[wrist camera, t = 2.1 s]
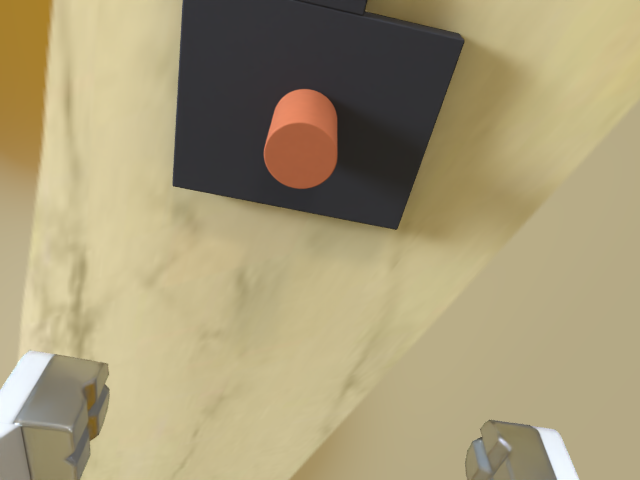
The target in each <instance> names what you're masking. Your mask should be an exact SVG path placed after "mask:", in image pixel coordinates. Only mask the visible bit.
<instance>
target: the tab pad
mask: <svg viewBox="0 0 640 480" xmlns="http://www.w3.org/2000/svg"><path fill="white" fill-rule="evenodd" d="M366 3H367V0H183V5H182V23H181V41H180V59H179V77H178V95H177V113H176V131H175V150H174V168H173V186H175V187H180V188H185V189H190V190H195V191H200V192H206V193H211V194H216V195H221V196H226V197H231V198H236V199H242V200H247V201H252V202H257V203H262V204H267V205H272V206H277V207H283V208H288V209H293V210H298V211H303V212H308V213H313V214H318V215H324V216H329V217H334V218H339V219H344V220H349V221H354V222H359V223H365V224H370V225H375V226H380V227H385V228H390V229H395V230H397V229H398V226H399V223H400V220H401V217H402V215H403V212H404V209H405V206H406V204H407V201H408V198H409V195H410V192H411V190H412V187H413V184H414V181H415V178H416V176H417V173H418V170H419V167H420V164H421V162H422V159H423V156H424V153H425V150H426V148H427V145H428V142H429V139H430V137H431V134H432V131H433V128H434V125H435V123H436V120H437V117H438V114H439V111H440V109H441V106H442V103H443V100H444V97H445V95H446V92H447V89H448V86H449V83H450V81H451V78H452V75H453V72H454V70H455V67H456V64H457V61H458V58H459V56H460V53H461V50H462V47H463V44H464V39H463V38H462V37H461V35H460V34H458V33H454V32H450V31H446V30H441V29H437V28H433V27H429V26H424V25H420V24H416V23H412V22H407V21H403V20H399V19H395V18H390V17H386V16H382V15H378V14H373V13H369V12H365V7H366Z"/></svg>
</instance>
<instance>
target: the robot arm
mask: <svg viewBox="0 0 640 480" xmlns="http://www.w3.org/2000/svg"><path fill="white" fill-rule="evenodd" d="M108 375H109V369H108V364H107V363H102V362H96V361H91V360H85V359H79V358H74V357H68V356H62V355H57V354H50V353H44V352H38V351H32V350H29V351H28V352H27V353H26V354H25V355H23V356H22V358H21V359H20V361H19V362H18V364H17V365H16V367H15V368H14V370H13V371H12V373H11V374H10V376H9V377H8V379H7V381H6V382H5V384H4V385H3V387H2V388H1V390H0V480H80V478H81V476H82V473H83V471H84V469H85V466H86V464H87V462H88V459H89V457H90V441H91V440H92V439H94V438H95V437H96V436H98V435H99V433H100V431H101V428H102V426H103V423H104V420H105V417H106V413H107V409H108V404H109V388H108V387H107V386H106V385H105V382H106V380H107V378H108ZM480 430H481V434H482V437H480V438H478V439H477V440H474V441H473V442H472V443H471V445H470V447H469V449H468V450H467V455H466V461H465V467H466V476H467V480H579V477H578V475H577V473H576V470H575V468H574V466H573V463H572V461H571V459H570V457H569V454H568V452H567V449H566V447H565V445H564V442H563V440H562V438H561V436H560V434H559V433H558V432H557V431H556V430H554V429H548V428H541V427H534V426H530V425H524V424H517V423H509V422H502V421H495V420H489V421H487V422H485V423H484V425H483V426H482V427H481V429H480Z"/></svg>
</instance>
